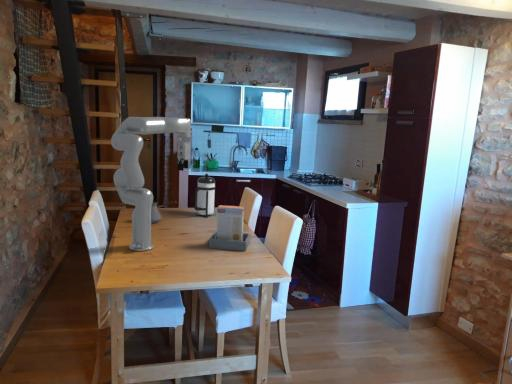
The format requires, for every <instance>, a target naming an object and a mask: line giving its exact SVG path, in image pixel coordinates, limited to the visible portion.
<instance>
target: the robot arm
mask: <svg viewBox="0 0 512 384" xmlns="http://www.w3.org/2000/svg"><path fill="white" fill-rule="evenodd" d="M191 132H192V121H191V118H186V117H177V116H176V117H173V116H171V117H164V116H147V117H146V116H128V117H127V118H125V119H124V120H123V122H122V123H121V124H120V125H119V126H118V128H117V129H116V130H115V132H114V133H113V134H112V136H111V139H110V144H111V147H112V148H113V149H114V150H117V151H123V154H122V156H121V157H120V167H121V168H118V169H116V170H115V172H114V174H113V182H114V183H113V184H114V187H115V189H116V190H117V193H118V196H119V198H120V200H121V202H123V203H124V204H126V205H131V206H135V207H134V209H133V211H132V214H131V243H130V244H129V245H128V249H129V250H131V251H136V252H146V251H150V250H152V249H154V247H155V244H154V243H152V224H151V208H152V203H153V202H154V195H153V194H154V193H153V192H152V190H150V189H148V188H145V187H144V185H145V177H144V174H143V171H142V169H141V168H142V167H141V166H140V163H139V157H140V154H141V152H142V150H143V148H144V139H143V137H142V136H140V135H152V134H153V135H155V134H170V133H171V134H173V133H175V134H176V133H177V135H176V137H177V138H176V139H177V141H176V143H178V144H177V171H181V172H183V171H184V169H188V170H189V160H190V159H191V145H190V144H191V138H192V137H191V134H192V133H191Z"/></svg>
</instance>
